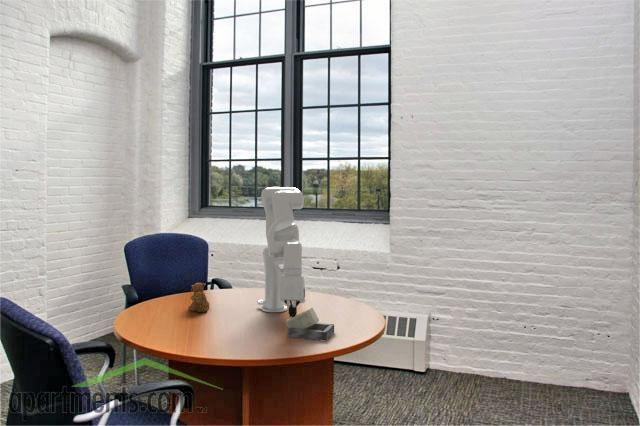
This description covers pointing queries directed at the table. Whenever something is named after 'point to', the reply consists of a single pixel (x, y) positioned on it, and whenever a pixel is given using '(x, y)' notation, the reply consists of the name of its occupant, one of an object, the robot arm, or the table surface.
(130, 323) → the table surface
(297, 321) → the skincare box
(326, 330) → the u rest
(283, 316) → the table surface
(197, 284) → the brown teddy bear
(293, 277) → the robot arm
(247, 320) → the table surface
